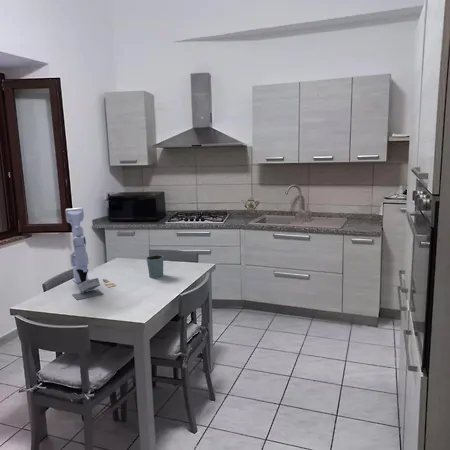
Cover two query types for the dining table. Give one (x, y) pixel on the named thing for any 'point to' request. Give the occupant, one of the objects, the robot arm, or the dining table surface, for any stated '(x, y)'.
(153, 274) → the teal utensil pot
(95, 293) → the slate mat
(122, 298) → the dining table surface
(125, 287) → the dining table surface
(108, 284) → the beech turner
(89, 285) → the medicine box
